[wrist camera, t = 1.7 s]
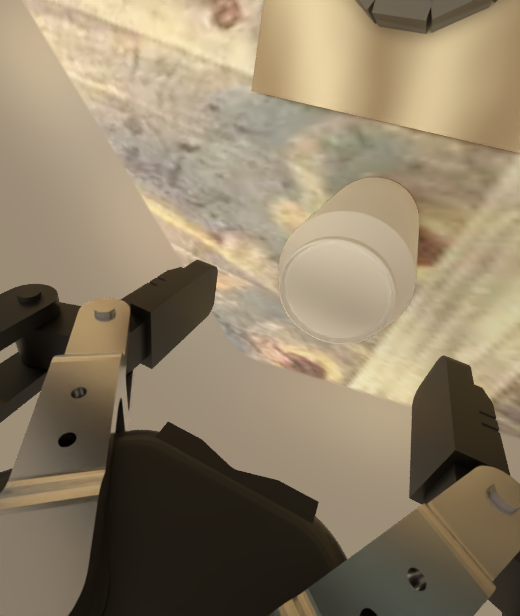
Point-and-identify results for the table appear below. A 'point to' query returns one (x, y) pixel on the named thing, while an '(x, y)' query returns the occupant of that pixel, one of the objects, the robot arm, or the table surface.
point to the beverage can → (352, 263)
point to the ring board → (399, 62)
